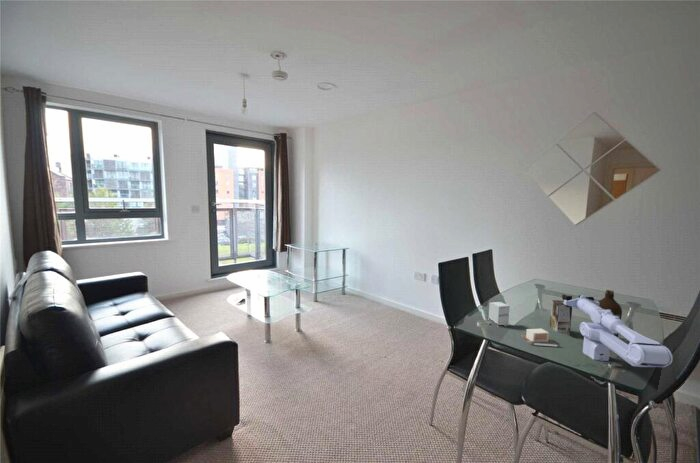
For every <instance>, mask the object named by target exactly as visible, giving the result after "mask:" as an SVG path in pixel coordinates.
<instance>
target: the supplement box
mask: <svg viewBox="0 0 700 463" xmlns="http://www.w3.org/2000/svg"><path fill="white" fill-rule="evenodd" d="M510 308H511V307H510V304H506V303H504V302H502V301H495V302H489V306H488V319H489V318H490V319H491V320H493V321H494V322H495V323H497V324H499V325H504V326H503V327H508V326H509V321H510V320H509V318H510Z"/></svg>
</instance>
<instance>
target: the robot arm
mask: <svg viewBox="0 0 700 463" xmlns="http://www.w3.org/2000/svg"><path fill="white" fill-rule="evenodd" d="M561 299H562V301H564V304H565V306H566V307H570V306H571V307H572V308H574V309H577V310H580V311H581V312H583V313H584V314H586V315H588V316H589V317H590V319H591V322H587V321H582V322H581V323H580V324H579V331H580V334H581V335H582V336H583V342H582V343H583V344H582V353H583V355H586V356H588V357H589V358H590V359H592V360H593V361H594V360H595V361H602V362H601V364H608V365H610V364H609V363H611V362H610V361H609V360H610V351H612V352H613V353H615V354H616V355H617V356H618V357H620V358H621V359H623V361H625V362H626V363H627V364H629V365H631V366H632V367H637V368H666V367H668V366H670V365H671V364H672V363H673V358H674V357H673V354H672V352H671V351H670V349H669V348H668V347H667V346H665V345H661V343H660V342H659V341H656V340H654V339H652V338H649V337H647V336H644V335H643V334H641V333H640V332H637V331H635V330H633V329H631V328H629V327H628V326H627V324H626V322H625V321H623V320H622V319H621V320H620V319H619V317H617V316H614V315H613V313H612V312H611V310H604V309H602V308H601V307H599V304H600V303H599V302H598V301H596V300H595V298H594V296H586V295H583V294H582V295H581V294H580V295H578V298H573V296H572V295H566V294H562V296H561ZM614 333H619V334H620V335H621V336H622V337H624V338H625V339H626V340H627V341H628V342H629V343H626V342H625V341H623V339H620V338H619V336H618V337H616V336H615V335H614ZM605 361H606V362H605Z"/></svg>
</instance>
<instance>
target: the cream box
mask: <svg viewBox="0 0 700 463" xmlns="http://www.w3.org/2000/svg"><path fill="white" fill-rule="evenodd" d="M525 332H526V334H525V335H526V338H527V339H529V340H530V341H535V342H548V338H550V337H549V336H550V332H549V331H547V330H545V329H544V328H526V331H525Z"/></svg>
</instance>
